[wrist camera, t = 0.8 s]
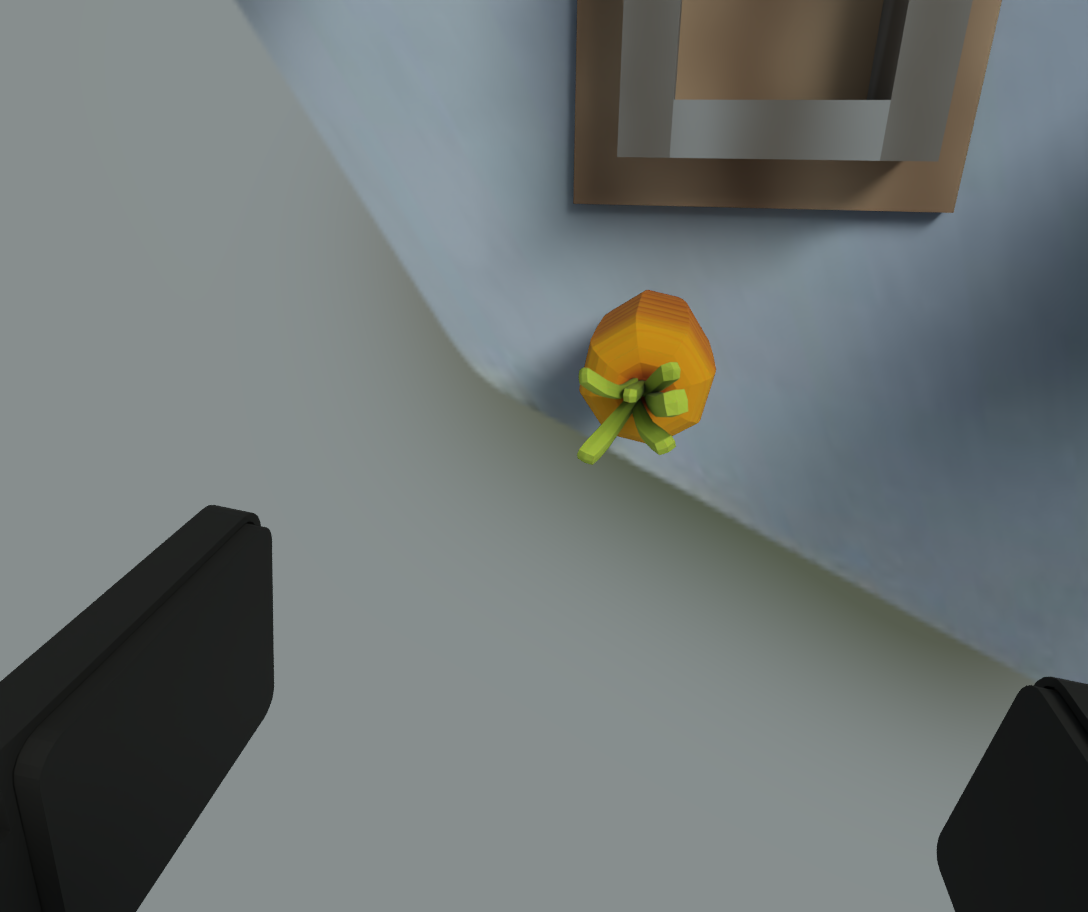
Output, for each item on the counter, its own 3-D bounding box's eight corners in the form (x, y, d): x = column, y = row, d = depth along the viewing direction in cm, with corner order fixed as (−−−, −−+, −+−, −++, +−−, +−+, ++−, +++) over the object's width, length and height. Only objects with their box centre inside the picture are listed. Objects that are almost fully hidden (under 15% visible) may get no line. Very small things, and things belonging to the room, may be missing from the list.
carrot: (613, 367, 37) (572, 512, 24) (597, 268, 35) (542, 366, 22) (714, 353, 36) (730, 498, 23) (703, 251, 34) (713, 343, 21)
